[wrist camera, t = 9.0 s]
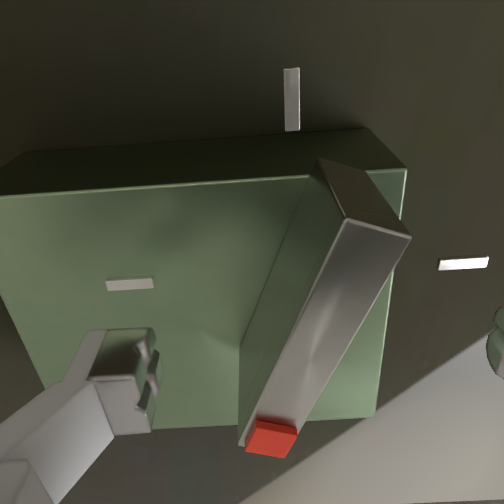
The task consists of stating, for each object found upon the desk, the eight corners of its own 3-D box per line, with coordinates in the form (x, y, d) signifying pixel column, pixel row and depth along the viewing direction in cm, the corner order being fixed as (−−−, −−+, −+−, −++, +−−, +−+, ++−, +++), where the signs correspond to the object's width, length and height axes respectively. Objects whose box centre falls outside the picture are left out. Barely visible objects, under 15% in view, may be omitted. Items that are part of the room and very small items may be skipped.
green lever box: (461, 35, 13) (545, 49, 9) (408, 340, 19) (445, 418, 16) (-8, 70, 13) (-102, 97, 10) (97, 359, 20) (64, 438, 16)
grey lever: (317, 155, 10) (348, 223, 7) (367, 171, 11) (419, 243, 8) (238, 350, 14) (236, 455, 11) (278, 359, 14) (287, 464, 11)
